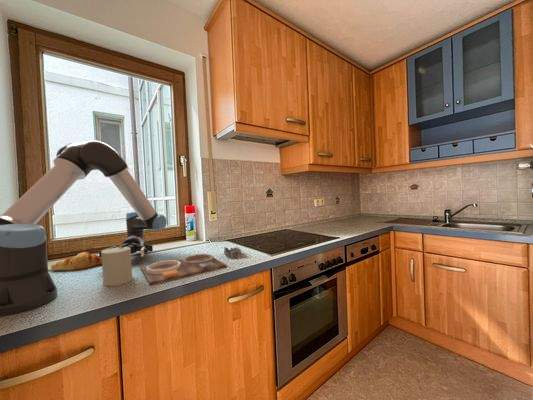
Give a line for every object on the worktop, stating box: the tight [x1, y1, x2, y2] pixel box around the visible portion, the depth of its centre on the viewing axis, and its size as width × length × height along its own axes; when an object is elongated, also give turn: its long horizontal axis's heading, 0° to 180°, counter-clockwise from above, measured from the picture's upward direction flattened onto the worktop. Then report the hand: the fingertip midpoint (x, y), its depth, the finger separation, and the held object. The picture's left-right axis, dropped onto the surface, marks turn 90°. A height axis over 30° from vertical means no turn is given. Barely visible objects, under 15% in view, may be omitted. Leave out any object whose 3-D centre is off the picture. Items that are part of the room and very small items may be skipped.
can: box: [101, 246, 133, 287], centre depth 85 cm, size 9×9×12 cm
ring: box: [146, 259, 181, 278], centre depth 92 cm, size 13×18×2 cm
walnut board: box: [140, 253, 227, 286], centre depth 97 cm, size 29×21×2 cm
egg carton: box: [223, 246, 242, 260], centre depth 114 cm, size 11×8×4 cm
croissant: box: [50, 251, 102, 271], centre depth 104 cm, size 21×10×8 cm, turn 117°
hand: (122, 255), depth 94 cm, fingers open, 13 cm apart
